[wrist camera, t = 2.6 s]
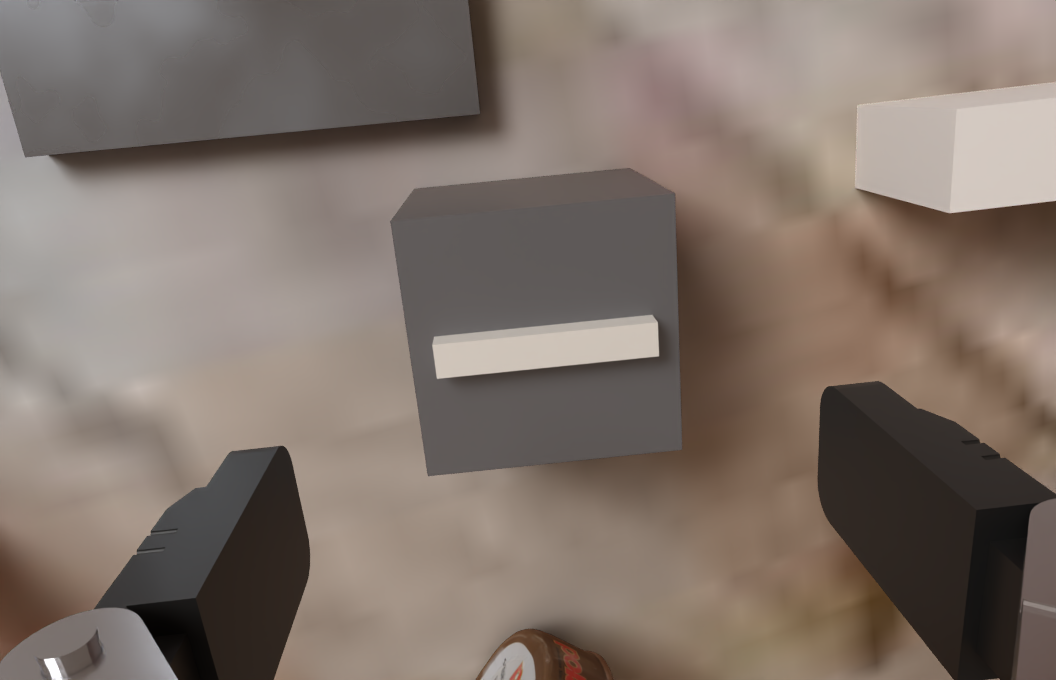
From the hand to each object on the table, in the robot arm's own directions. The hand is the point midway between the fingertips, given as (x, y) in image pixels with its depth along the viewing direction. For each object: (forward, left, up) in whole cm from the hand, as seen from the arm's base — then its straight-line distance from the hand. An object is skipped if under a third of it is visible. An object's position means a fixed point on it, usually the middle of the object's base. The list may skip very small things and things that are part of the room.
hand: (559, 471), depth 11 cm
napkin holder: (-16, -2, -13) cm, 21 cm away
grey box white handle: (0, 0, -12) cm, 12 cm away
